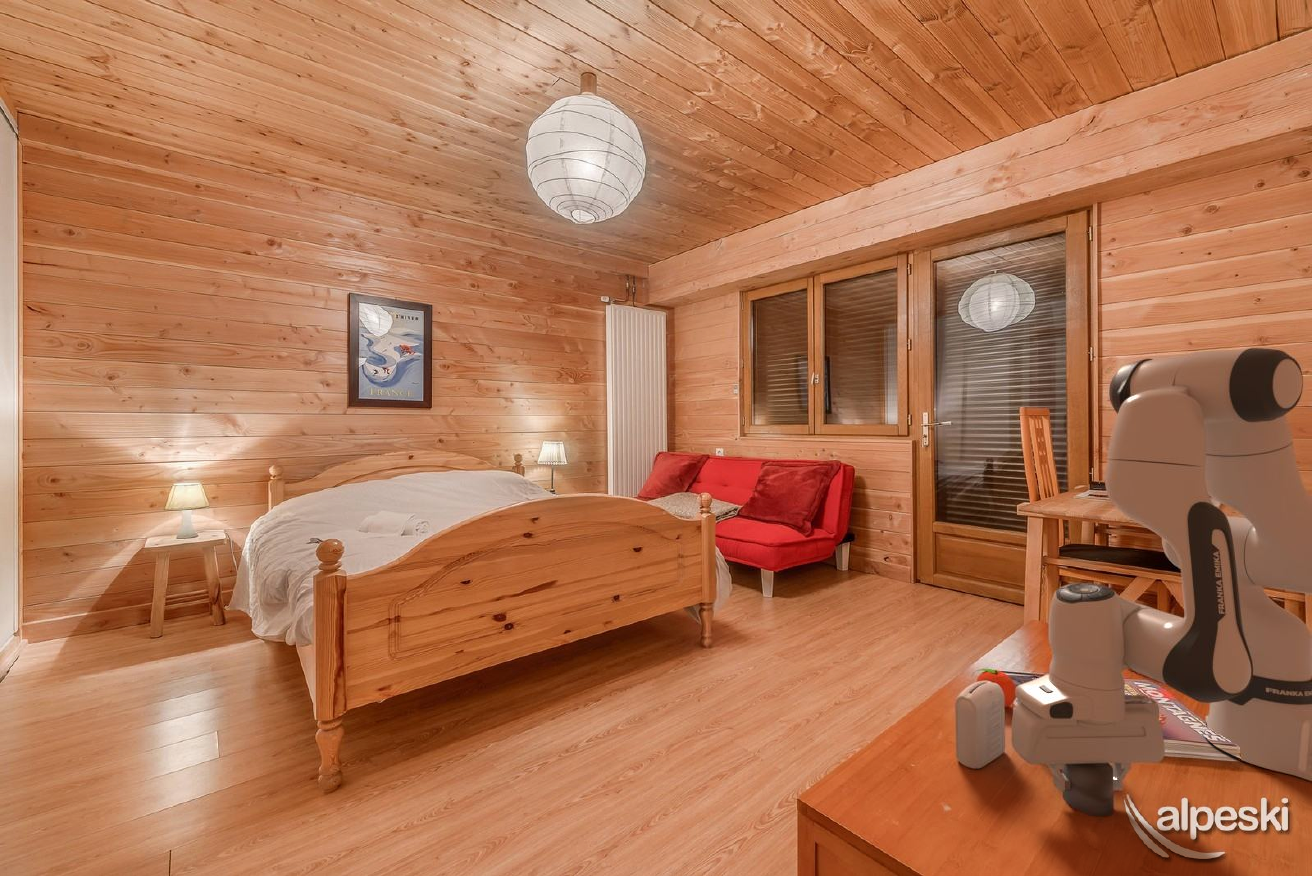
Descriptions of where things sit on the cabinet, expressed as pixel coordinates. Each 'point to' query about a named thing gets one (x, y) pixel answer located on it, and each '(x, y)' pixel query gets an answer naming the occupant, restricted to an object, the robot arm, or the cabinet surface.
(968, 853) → the cabinet surface
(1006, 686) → the clementine
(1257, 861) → the cabinet surface
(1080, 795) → the charcoal cylinder
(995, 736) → the photo printer
